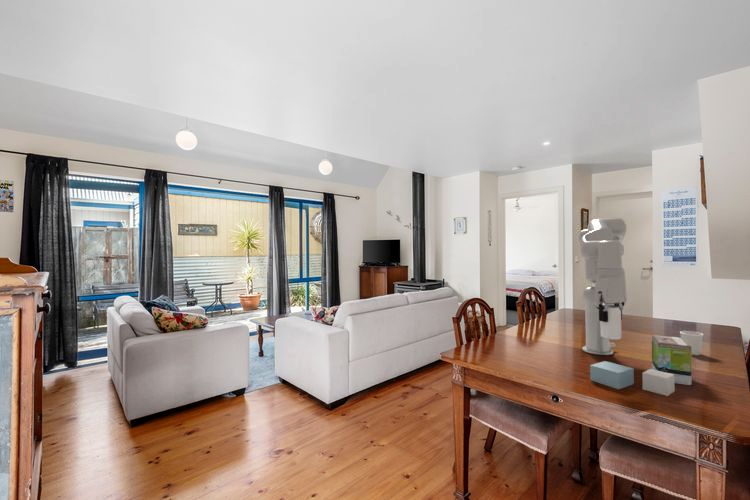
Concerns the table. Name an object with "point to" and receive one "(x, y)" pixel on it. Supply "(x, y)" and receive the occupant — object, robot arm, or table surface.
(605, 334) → the can
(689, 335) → the dixie cup
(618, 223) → the robot arm
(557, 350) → the table surface
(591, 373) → the pedestal block
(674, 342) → the tea box
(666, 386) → the grey block
